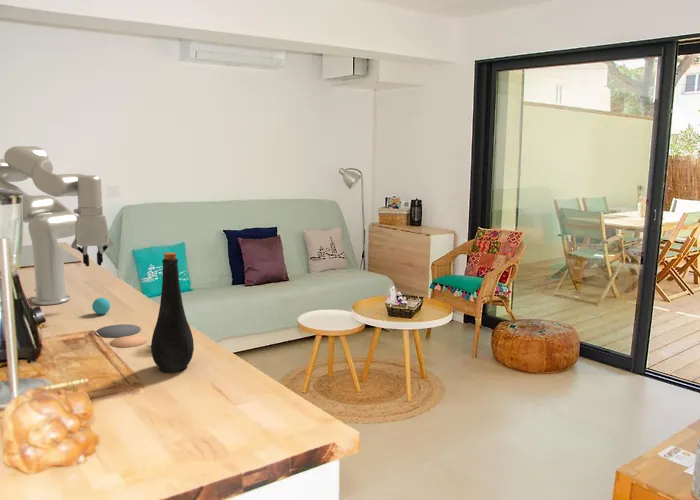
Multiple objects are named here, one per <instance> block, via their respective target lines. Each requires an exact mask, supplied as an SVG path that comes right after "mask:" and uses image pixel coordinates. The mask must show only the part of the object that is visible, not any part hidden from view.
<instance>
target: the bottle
mask: <svg viewBox="0 0 700 500" xmlns="http://www.w3.org/2000/svg"><path fill="white" fill-rule="evenodd" d="M161 263H162V278H161V279H162V280H161V281H162V283H161V295H160V301H159V302H160V303H159V310H158V314H157V315H158V317H157V320H156V324H155V326H154V330H153V334H152V337H151V344H150V352H151V356H152V360H153V362H154V364H155V365H156V366H157V367H158V371H159V372H162V373H164V374H165V373H166V374H175V373H180V372H184V371H186V370H187V369H188V365H189V364H190V363H191V360H192V358H193V355H194V349H195V345H194V343H195V342H194V336H193V333H192V330H191V327H190V324H189V322H188V319H187V316H186V312H185V309H184V304H183V297H182V293H181V292H182V291H181V285H180V277H179V275H180V274H179V265H178V264H179V259H178V258H177V253H176V252H174V251H173V252H171V251H169V252H163V259H162V260H161Z"/></svg>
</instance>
